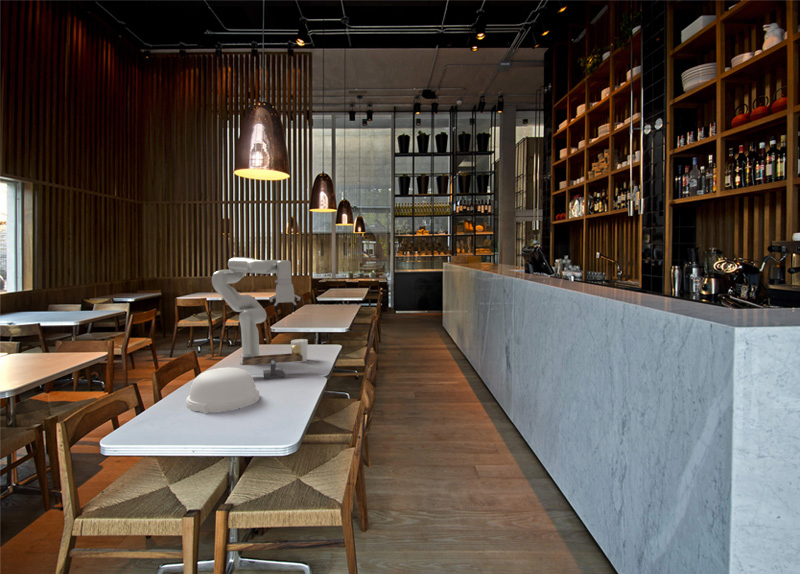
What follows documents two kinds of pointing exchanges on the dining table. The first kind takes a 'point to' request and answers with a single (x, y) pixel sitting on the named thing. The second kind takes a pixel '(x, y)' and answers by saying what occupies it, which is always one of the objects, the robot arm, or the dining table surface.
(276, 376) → the beam stand
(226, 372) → the dome cover
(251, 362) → the balance beam
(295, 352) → the brass weight
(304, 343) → the candle holder
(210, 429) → the dining table surface
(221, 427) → the dining table surface
